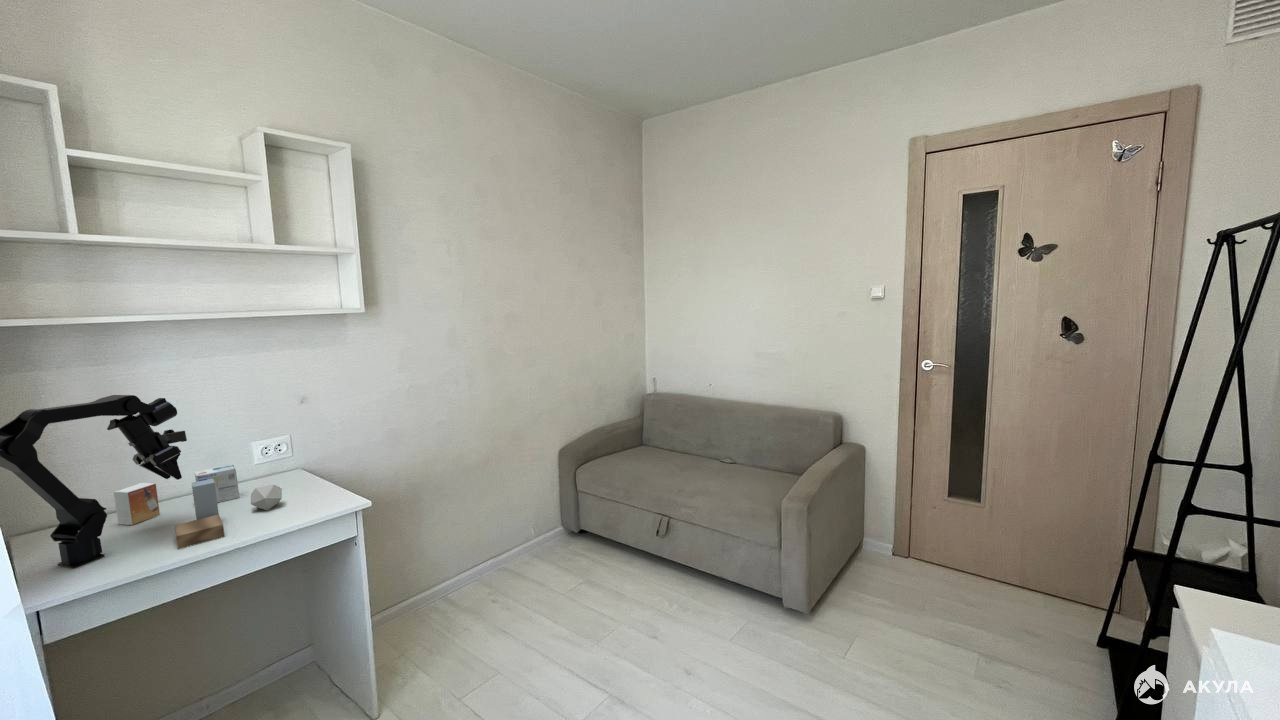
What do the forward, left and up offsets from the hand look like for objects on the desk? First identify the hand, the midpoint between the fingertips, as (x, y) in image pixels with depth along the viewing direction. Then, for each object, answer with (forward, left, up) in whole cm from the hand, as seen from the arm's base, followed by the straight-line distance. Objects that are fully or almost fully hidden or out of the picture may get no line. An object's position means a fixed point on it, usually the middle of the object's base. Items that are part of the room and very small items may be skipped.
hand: (174, 478), depth 154 cm
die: (+17, -12, -15) cm, 26 cm away
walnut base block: (-4, -13, -15) cm, 21 cm away
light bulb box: (+18, +11, -15) cm, 26 cm away
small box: (0, +19, -15) cm, 24 cm away
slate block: (+3, -6, -15) cm, 17 cm away
